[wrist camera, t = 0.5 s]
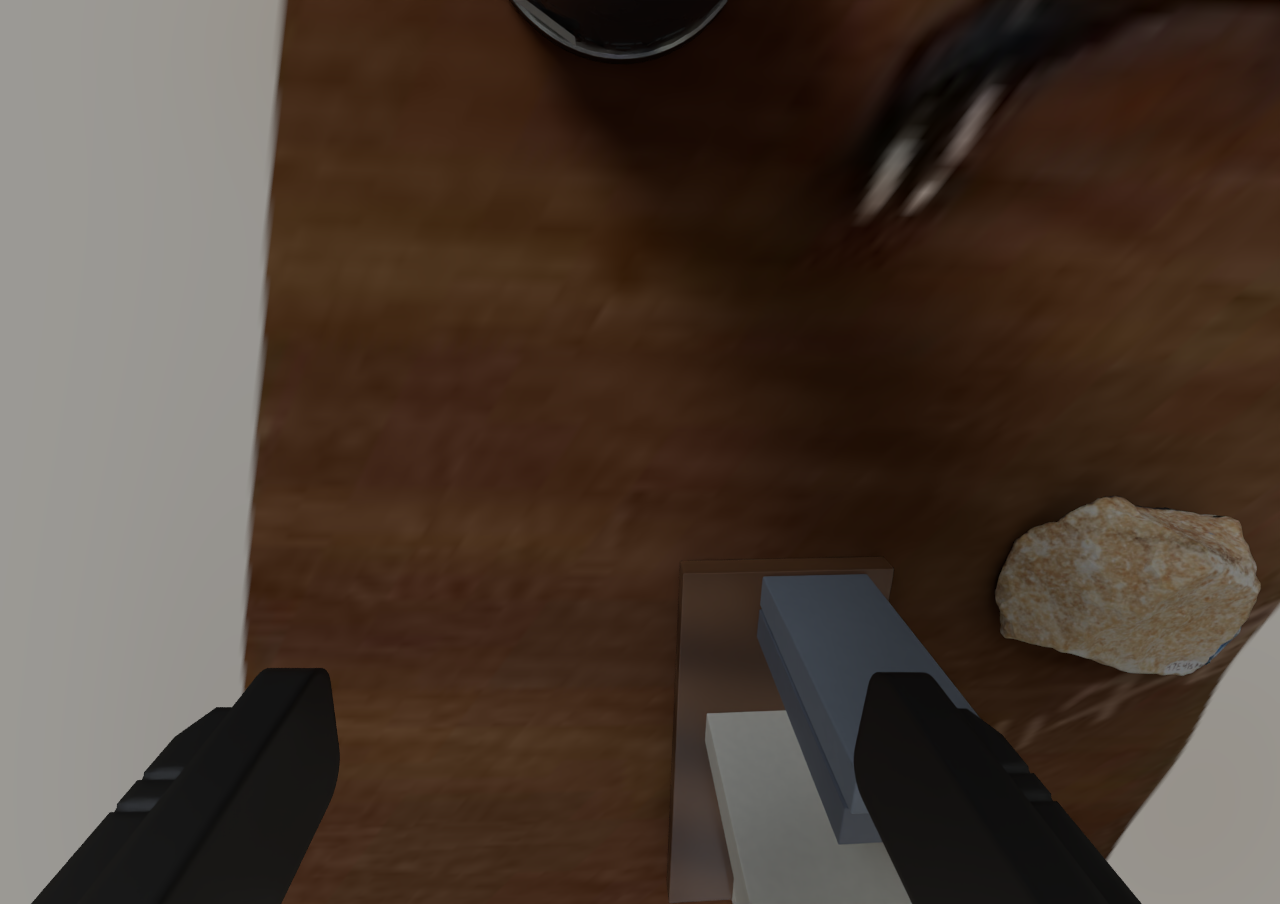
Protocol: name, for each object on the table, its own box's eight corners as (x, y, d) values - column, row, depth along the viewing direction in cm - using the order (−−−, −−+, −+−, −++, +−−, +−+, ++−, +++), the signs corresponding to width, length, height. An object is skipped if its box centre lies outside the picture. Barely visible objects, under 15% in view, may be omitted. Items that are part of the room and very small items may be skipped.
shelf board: (679, 560, 29) (682, 573, 28) (883, 556, 30) (894, 568, 28) (666, 882, 36) (668, 903, 35) (829, 873, 37) (836, 893, 36)
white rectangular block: (706, 712, 31) (761, 957, 20) (841, 707, 31) (962, 943, 21) (704, 740, 31) (757, 991, 21) (837, 735, 32) (952, 977, 21)
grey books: (762, 575, 28) (857, 775, 18) (867, 573, 28) (1020, 767, 18) (756, 637, 29) (842, 858, 19) (857, 634, 30) (996, 849, 19)
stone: (1149, 647, 33) (1232, 709, 28) (971, 621, 31) (1030, 682, 27) (1229, 507, 30) (1333, 552, 26) (1038, 472, 29) (1115, 514, 24)
